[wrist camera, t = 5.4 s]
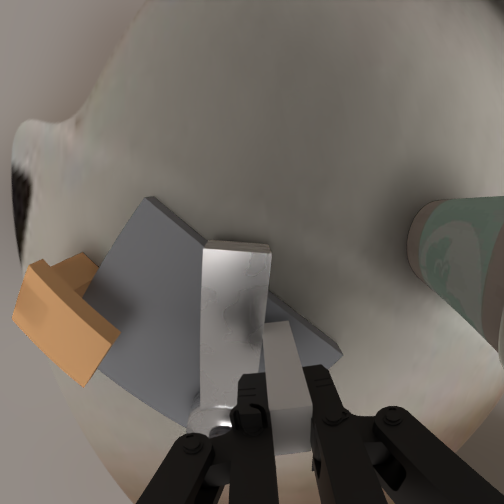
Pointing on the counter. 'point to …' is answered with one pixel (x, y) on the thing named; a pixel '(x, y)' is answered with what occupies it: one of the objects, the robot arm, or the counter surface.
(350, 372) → the counter surface
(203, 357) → the link
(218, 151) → the counter surface
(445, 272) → the coffee cup
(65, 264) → the block
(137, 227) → the board
